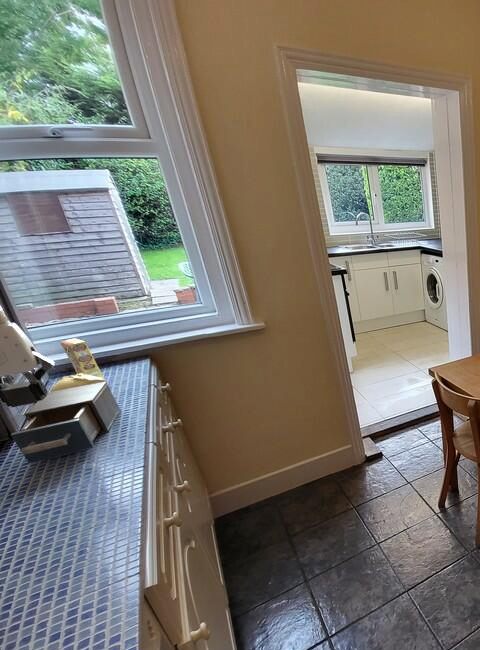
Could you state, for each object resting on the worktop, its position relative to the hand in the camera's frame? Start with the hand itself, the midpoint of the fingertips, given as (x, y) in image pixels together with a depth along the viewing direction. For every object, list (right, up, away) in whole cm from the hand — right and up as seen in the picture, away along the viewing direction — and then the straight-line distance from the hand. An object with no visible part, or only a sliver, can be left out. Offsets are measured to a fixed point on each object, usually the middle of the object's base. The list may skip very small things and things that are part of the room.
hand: (27, 400), depth 91 cm
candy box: (-38, +4, +52) cm, 64 cm away
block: (0, 0, 0) cm, 0 cm away
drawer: (-3, -12, +11) cm, 16 cm away
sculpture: (-21, -4, +33) cm, 39 cm away
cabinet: (-10, -8, +22) cm, 25 cm away
